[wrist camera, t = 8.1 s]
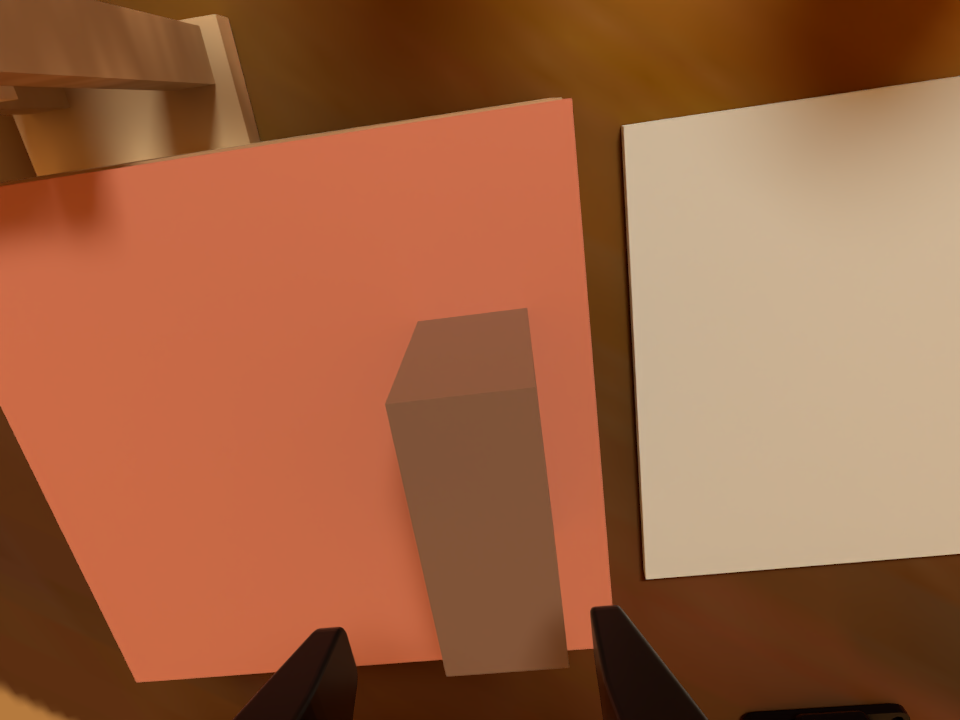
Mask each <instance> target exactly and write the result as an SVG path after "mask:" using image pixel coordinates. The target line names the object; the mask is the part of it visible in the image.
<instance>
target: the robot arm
mask: <svg viewBox="0 0 960 720" xmlns="http://www.w3.org/2000/svg"><path fill="white" fill-rule="evenodd" d="M590 618H591V628H592V638H593V649H594V658H595V665H596V672H597V679H598V686H599V693H600V700H601V707H602V714H603V720H708V719H707V717H706V716H705V715H704V713H703V712H702V711H701V710H700V708H699V707H698V706H697V704H696V703H695V702H694V701H693V699H692V698H691V697H690V695H689V694H688V693H687V692H686V690H685V689H684V688H683V687H682V685H681V684H680V683H679V681H678V680H677V679H676V678H675V676H674V675H673V674H672V672H671V671H670V670H669V669H668V667H667V666H666V665H665V663H664V662H663V661H662V660H661V658H660V657H659V656H658V654H657V653H656V652H655V651H654V649H653V648H652V647H651V646H650V644H649V643H648V642H647V640H646V639H645V638H644V637H643V635H642V634H641V633H640V631H639V630H638V629H637V628H636V626H635V625H634V624H633V622H632V621H631V620H630V619H629V617H628V616H627V615H626V614H625V612H624V611H623V610H622V609H621V608H620V607H619V606H617V605H607V606H595V607H592V608H591V610H590ZM356 689H357V667H356V663H355V660H354V656H353V653H352V649H351V646H350V643H349V639H348V636H347V633H346V631H345V630H344V628H342V627H329V628H319V629H316V630H315V631H314V632H312V633H311V634H310V636H309V637H308V638H307V639H306V640H305V641H304V642H303V643H302V644H301V645H300V646H299V648H298V649H297V650H296V651H295V652H294V653H293V654H292V655H291V656H290V657H289V658H288V660H287V661H286V662H285V663H284V664H283V665H282V666H281V667H280V668H279V669H278V671H277V672H276V673H275V674H274V675H273V676H272V677H271V678H270V679H269V680H268V681H267V683H266V684H265V685H264V686H263V687H262V688H261V689H260V690H259V691H258V692H257V693H256V695H255V696H254V697H253V698H252V699H251V700H250V701H249V702H248V703H247V704H246V705H245V707H244V708H243V709H242V710H241V711H240V712H239V713H238V714H237V715H236V716H235V717H234V719H233V720H353V712H354V704H355V697H356ZM743 720H910V717H909V715H908V714H907V712H906V711H905V709H904V708H903V707H902V706H901V705H899V704H879V705H863V706H847V707H831V708H815V709H799V710H783V711H767V712H754V713H750V714H748V715H746V716H745V717H744V718H743Z"/></svg>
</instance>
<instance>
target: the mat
mask: <svg viewBox="0 0 960 720" xmlns="http://www.w3.org/2000/svg"><path fill="white" fill-rule="evenodd" d="M621 135H622V155H623V175H624V194H625V214H626V234H627V254H628V273H629V293H630V313H631V333H632V352H633V372H634V392H635V411H636V431H637V451H638V471H639V490H640V510H641V530H642V549H643V569H644V575H645V578H646V579H658V578H670V577H682V576H694V575H707V574H719V573H731V572H743V571H755V570H767V569H780V568H792V567H804V566H816V565H828V564H840V563H853V562H865V561H877V560H889V559H901V558H913V557H926V556H938V555H950V554H960V76H956V77H949V78H942V79H935V80H928V81H922V82H915V83H908V84H901V85H894V86H888V87H881V88H874V89H867V90H860V91H854V92H847V93H840V94H833V95H826V96H820V97H813V98H806V99H799V100H792V101H786V102H779V103H772V104H765V105H759V106H752V107H745V108H738V109H731V110H725V111H718V112H711V113H704V114H697V115H691V116H684V117H677V118H670V119H663V120H657V121H650V122H643V123H636V124H629V125H623V126H621Z"/></svg>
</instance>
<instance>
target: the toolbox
mask: <svg viewBox="0 0 960 720" xmlns="http://www.w3.org/2000/svg"><path fill="white" fill-rule="evenodd" d="M0 86H13V87H14V89H15V92H16V94H17V97H18V99H16V100H10V101H4V102H0V115H13V117H14V120H15V122H16V125H17V127H18V130H19V132H20V135H21V137H22V140H23V142H24V145H25V147H26V150H27V152H28V155H29V157H30V160H31V162H32V164H33V167H34V169H35V172H36V174H37V177H31V178H25V179H18V180H12V181H6V182H0V186H4V185H10V184H17V183H23V182H30V181H36V180H43V179H49V178H56V177H62V176H69V175H75V174H81V173H88V172H94V171H101V170H107V169H114V168H120V167H127V166H133V165H140V164H146V163H153V162H159V161H166V160H172V159H179V158H185V157H192V156H198V155H205V154H211V153H218V152H224V151H230V150H237V149H243V148H250V147H256V146H263V145H269V144H276V143H282V142H289V141H295V140H302V139H308V138H315V137H321V136H328V135H334V134H341V133H347V132H354V131H360V130H367V129H373V128H380V127H386V126H392V125H399V124H405V123H412V122H418V121H425V120H431V119H438V118H444V117H451V116H457V115H464V114H470V113H477V112H483V111H490V110H496V109H503V108H509V107H516V106H522V105H529V104H535V103H541V102H548V101H554V100H561V99H562V97H559V98H546V99H539V100H533V101H526V102H519V103H513V104H506V105H500V106H493V107H487V108H480V109H474V110H467V111H460V112H454V113H447V114H441V115H434V116H428V117H421V118H415V119H408V120H402V121H395V122H388V123H382V124H375V125H369V126H362V127H356V128H349V129H343V130H336V131H329V132H323V133H316V134H310V135H303V136H297V137H290V138H284V139H277V140H271V141H264V142H261V141H260V137H259V134H258V130H257V126H256V122H255V118H254V114H253V111H252V107H251V103H250V99H249V95H248V92H247V88H246V84H245V80H244V76H243V72H242V69H241V65H240V61H239V57H238V53H237V50H236V46H235V42H234V38H233V34H232V31H231V27H230V23H229V19H228V18H227V17H223V16H220V15H217V14H213V15H207V16H201V17H196V18H190V19H184V20H178V21H177V20H173V19H169V18H165V17H161V16H157V15H153V14H149V13H145V12H141V11H137V10H133V9H129V8H125V7H121V6H117V5H112V4H108V3H104V2H100V1H96V0H0ZM55 173H56V174H55ZM42 175H43V176H42Z"/></svg>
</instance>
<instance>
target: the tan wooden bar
mask: <svg viewBox="0 0 960 720" xmlns="http://www.w3.org/2000/svg"><path fill="white" fill-rule="evenodd" d="M16 99H18V97H17V94H16V92H15V89H14V87H13V86H0V102H4V101H10V100H16Z"/></svg>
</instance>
